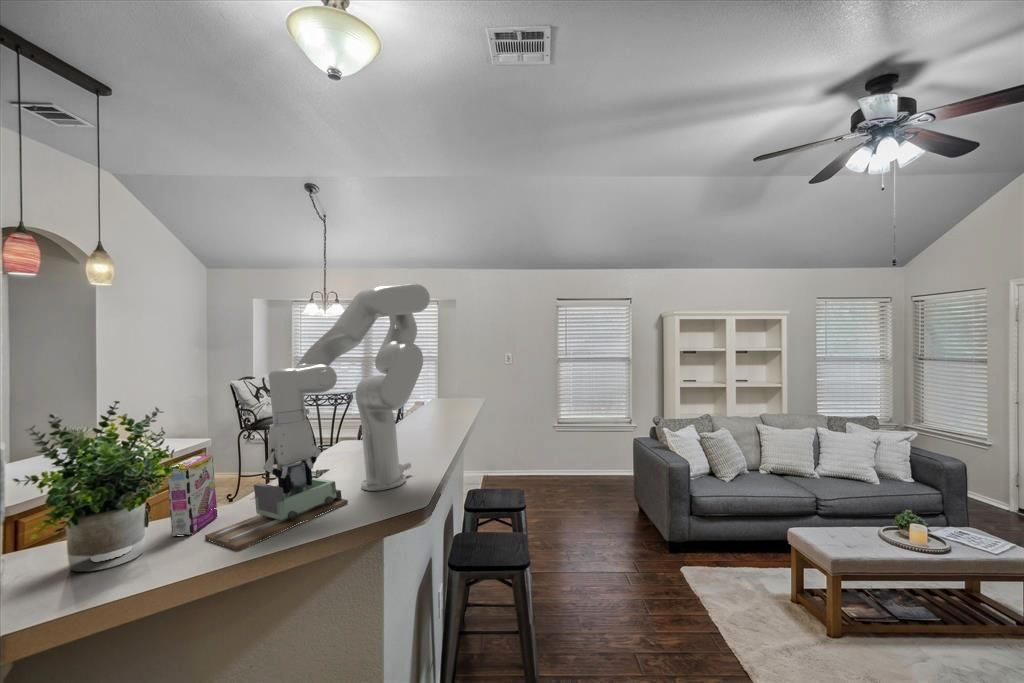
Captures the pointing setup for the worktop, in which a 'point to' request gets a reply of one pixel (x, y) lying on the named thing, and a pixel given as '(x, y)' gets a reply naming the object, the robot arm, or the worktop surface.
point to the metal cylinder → (296, 478)
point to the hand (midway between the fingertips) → (296, 487)
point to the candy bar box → (192, 495)
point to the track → (266, 526)
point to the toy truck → (292, 499)
